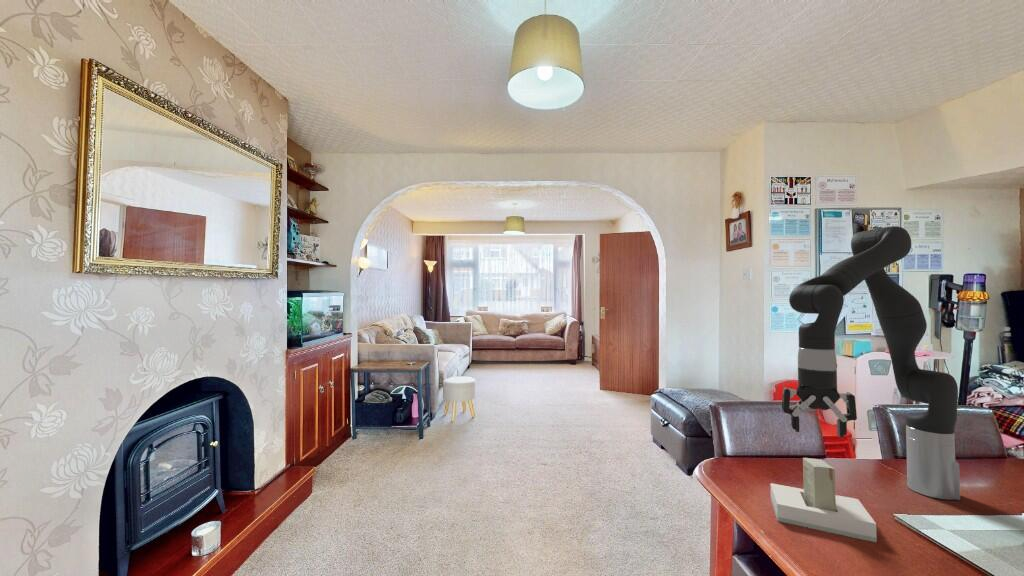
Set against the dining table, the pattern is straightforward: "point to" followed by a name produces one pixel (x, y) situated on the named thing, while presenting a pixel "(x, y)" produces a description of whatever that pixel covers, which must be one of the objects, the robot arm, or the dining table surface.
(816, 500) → the skincare box
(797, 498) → the white slotted base
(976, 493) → the dining table surface
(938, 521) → the dining table surface
